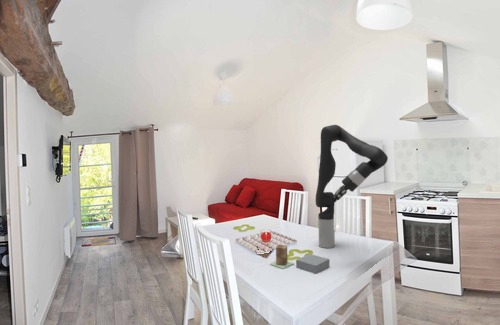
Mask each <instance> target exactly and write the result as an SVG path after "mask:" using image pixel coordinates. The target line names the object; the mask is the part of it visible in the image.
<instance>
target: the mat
mask: <svg viewBox="0 0 500 325" xmlns="http://www.w3.org/2000/svg"><path fill="white" fill-rule="evenodd" d="M269 265H270V266H272V267H275V268H278V269H282V270H284V269H287V268H289V267H291V266H293V265H295V263H294V262H291V261H288V262H287V264H286V266H285V265H276V260H275V261H273V262H271V263H269Z"/></svg>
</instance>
